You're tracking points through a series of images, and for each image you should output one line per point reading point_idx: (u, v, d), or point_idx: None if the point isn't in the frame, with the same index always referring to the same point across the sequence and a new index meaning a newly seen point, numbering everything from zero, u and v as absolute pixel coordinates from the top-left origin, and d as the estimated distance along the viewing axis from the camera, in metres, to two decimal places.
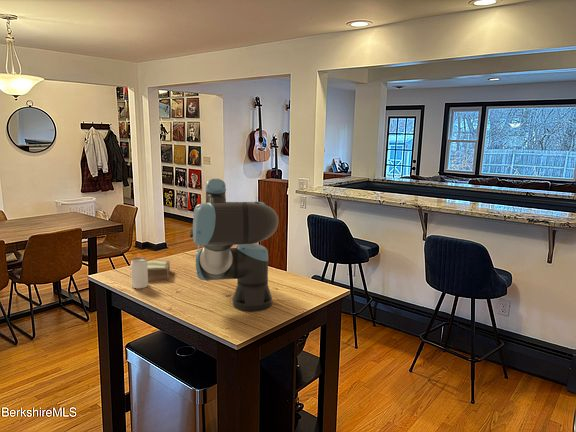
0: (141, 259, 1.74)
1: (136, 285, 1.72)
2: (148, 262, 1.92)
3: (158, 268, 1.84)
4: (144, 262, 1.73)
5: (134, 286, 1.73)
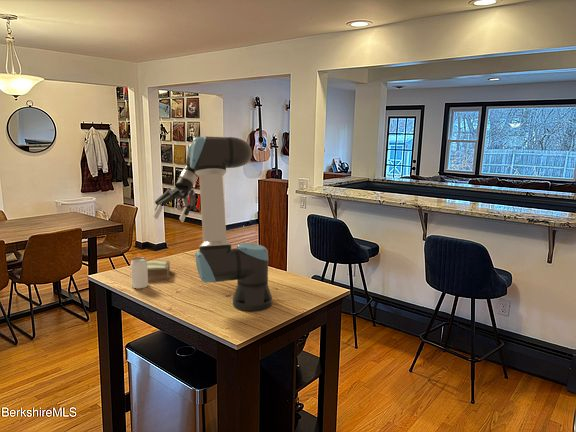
0: (141, 259, 1.74)
1: (136, 285, 1.72)
2: (148, 262, 1.92)
3: (158, 268, 1.84)
4: (144, 262, 1.73)
5: (134, 286, 1.73)
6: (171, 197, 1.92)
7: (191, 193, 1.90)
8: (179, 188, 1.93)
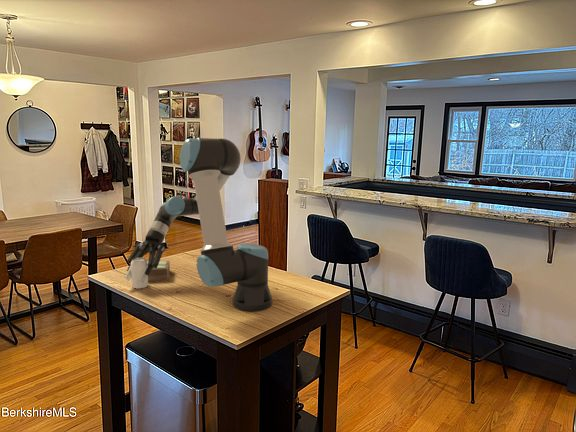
0: (141, 259, 1.74)
1: (136, 285, 1.72)
2: None
3: (158, 268, 1.84)
4: (144, 262, 1.73)
5: (134, 286, 1.73)
6: (143, 252, 1.79)
7: (159, 249, 1.77)
8: (149, 241, 1.81)
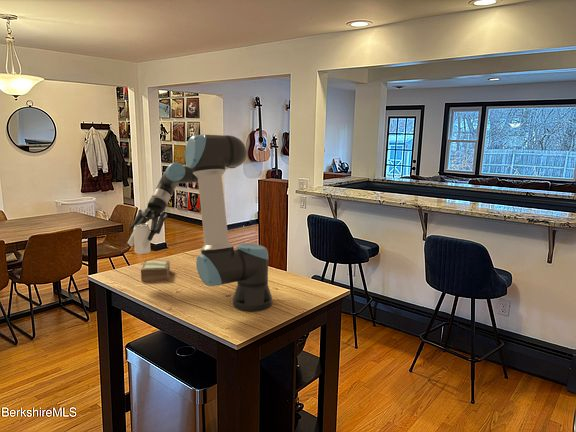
0: (144, 225, 1.76)
1: (139, 250, 1.74)
2: (148, 262, 1.92)
3: (158, 268, 1.84)
4: (147, 228, 1.74)
5: (137, 252, 1.74)
6: (145, 219, 1.80)
7: (161, 216, 1.78)
8: (151, 208, 1.82)
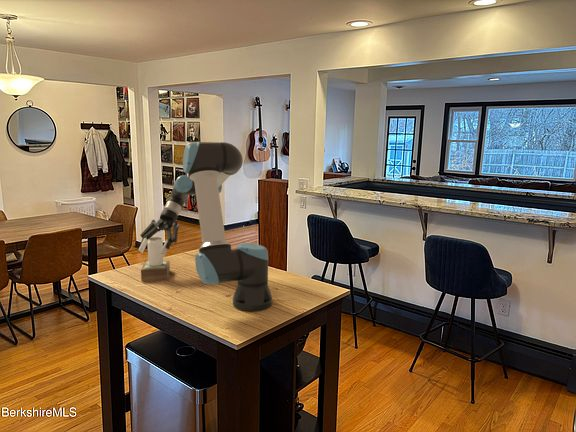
0: (157, 239, 1.88)
1: (153, 262, 1.85)
2: None
3: (158, 268, 1.84)
4: (160, 241, 1.86)
5: (150, 264, 1.86)
6: (156, 229, 1.92)
7: (175, 225, 1.90)
8: (164, 219, 1.94)
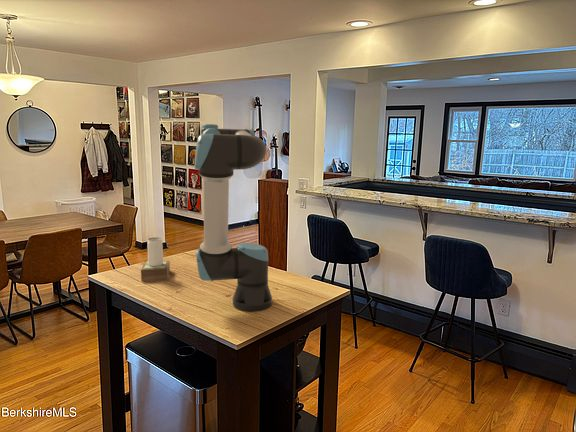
0: (157, 239, 1.87)
1: (152, 262, 1.85)
2: None
3: (158, 268, 1.84)
4: (160, 241, 1.86)
5: (150, 264, 1.86)
6: None
7: None
8: None
